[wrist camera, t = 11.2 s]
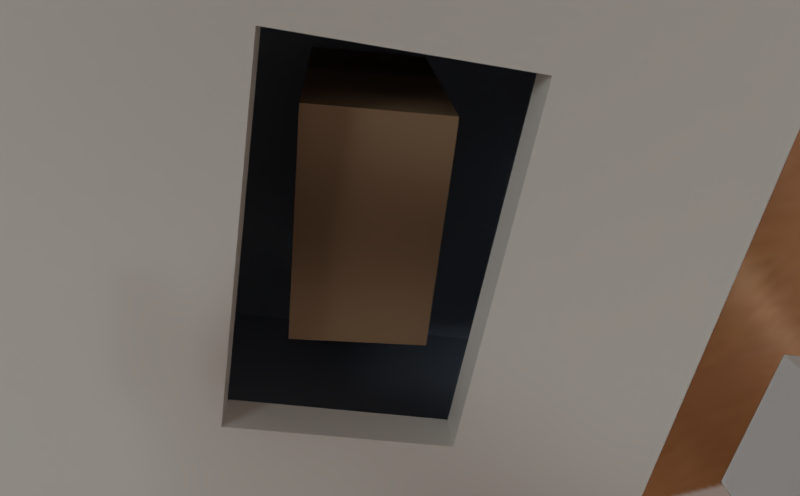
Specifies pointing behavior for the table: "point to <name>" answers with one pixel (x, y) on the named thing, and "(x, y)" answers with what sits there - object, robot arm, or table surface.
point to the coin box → (458, 259)
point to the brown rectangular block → (369, 197)
